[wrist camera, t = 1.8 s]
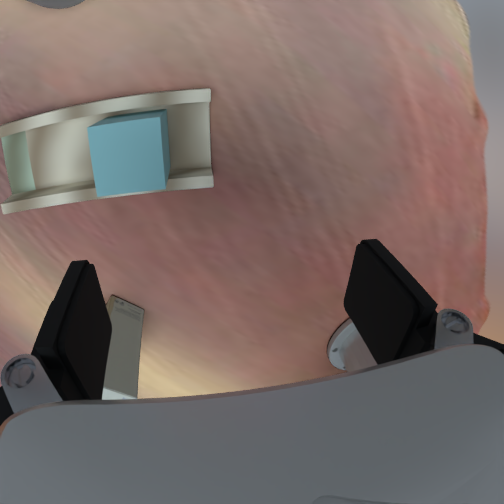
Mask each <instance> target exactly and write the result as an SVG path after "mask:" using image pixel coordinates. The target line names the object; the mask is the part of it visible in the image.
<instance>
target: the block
mask: <svg viewBox="0 0 504 504" xmlns="http://www.w3.org/2000/svg"><path fill="white" fill-rule="evenodd" d="M87 131H88V139H89V147H90V155H91V162H92V168H93V175H94V181H95V187H96V192H97V197H101V196H109V195H117V194H125V193H134V192H142V191H152V190H162V189H166V186H167V181H168V176H169V171H170V166H171V165H170V153H169V138H168V122H167V109H161V110H152V111H143V112H135V113H128V114H121V115H115V116H108V117H106V118H104V119H102V120H101V121H99V122H97V123H95V124H93V125H91V126H89V127H87Z"/></svg>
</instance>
